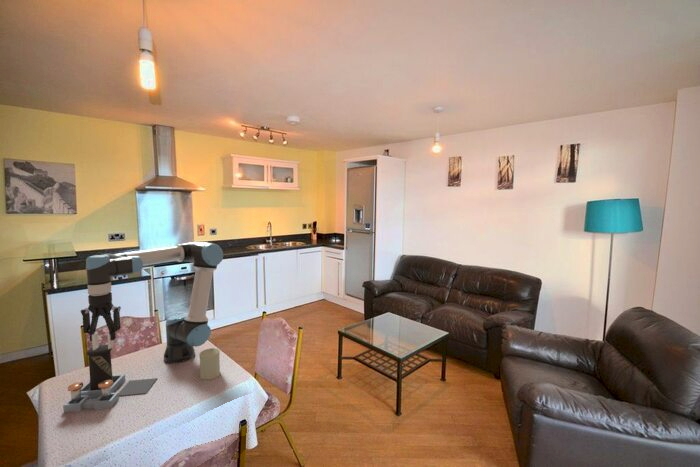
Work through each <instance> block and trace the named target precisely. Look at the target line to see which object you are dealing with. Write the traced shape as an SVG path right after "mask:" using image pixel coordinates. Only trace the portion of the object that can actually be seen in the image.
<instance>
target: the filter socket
mask: <svg viewBox="0 0 700 467" xmlns="http://www.w3.org/2000/svg"><path fill="white" fill-rule="evenodd" d="M112 377H113V385H112V386H111V393H116V391H117V390H118V389H119V388H120V387H121V385H122V384H123V383H124V382H125V381H126V374H125V373H124V374H122V373H121V374H112ZM84 395H89V397H90V399H97V398H99V397H100V396H101V390H91V391H90V380H88V382H86V383H85V384H83V387H82V388H81V396H84Z"/></svg>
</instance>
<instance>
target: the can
mask: <svg viewBox="0 0 700 467" xmlns="http://www.w3.org/2000/svg"><path fill="white" fill-rule="evenodd" d="M220 353H221V351H220V350H219V348H212V347H211V348H206V349H203V350H202V351H200V353H199V367H200V368H199V373H200V374H199V377H200V379H202V380H204V381H205V380H212V379H215V378H217V377H218V376H220V374H221V371H220V370H221V369H220V367H221V366H220Z"/></svg>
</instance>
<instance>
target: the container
mask: <svg viewBox="0 0 700 467" xmlns="http://www.w3.org/2000/svg"><path fill="white" fill-rule="evenodd" d="M112 349H113V347H112V348H111V349H108V344H99V347H98V348H97V349H95V350H93V346H92V347H91V348H89V349H88V350H87V351H86V355H87V356H88V366H89V370H88V371H89V381H90V389H89V391H91V390H101V389H100V388H99V387H98V384H99V383H101V382H102V381H105V380H113V377H112V375H113V366H112V365H113V364H112V354H111V351H112ZM113 384H114V383H113ZM113 384H112V385H113ZM112 385H111V386H112Z"/></svg>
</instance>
